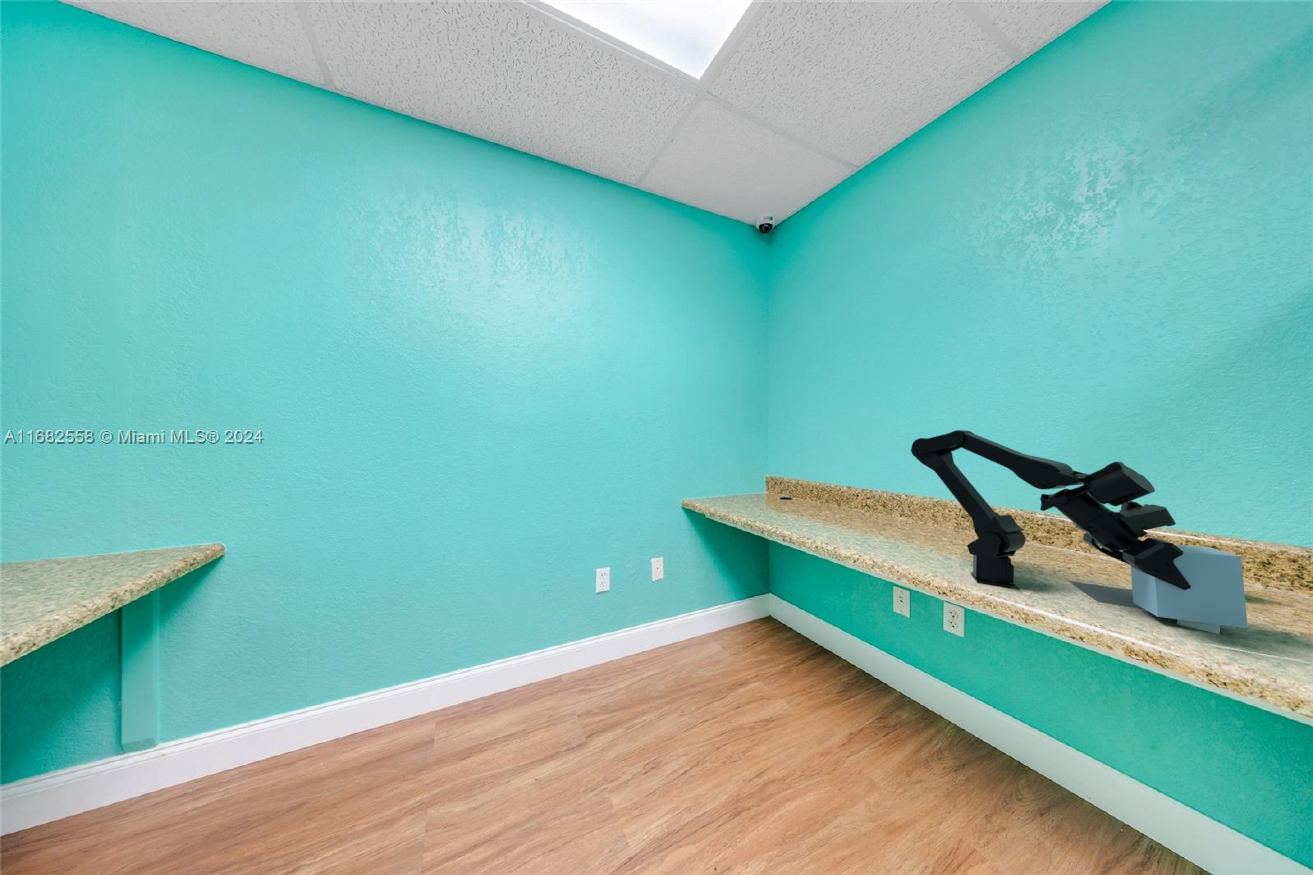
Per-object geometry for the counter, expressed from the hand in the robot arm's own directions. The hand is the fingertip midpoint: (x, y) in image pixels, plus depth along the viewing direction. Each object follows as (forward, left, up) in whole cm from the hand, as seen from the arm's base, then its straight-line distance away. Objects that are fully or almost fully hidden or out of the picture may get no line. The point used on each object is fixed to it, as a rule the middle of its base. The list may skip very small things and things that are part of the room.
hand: (1172, 581), depth 71 cm
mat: (0, +11, -8) cm, 13 cm away
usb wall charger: (+2, 0, -8) cm, 8 cm away
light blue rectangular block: (+2, 0, -6) cm, 6 cm away
